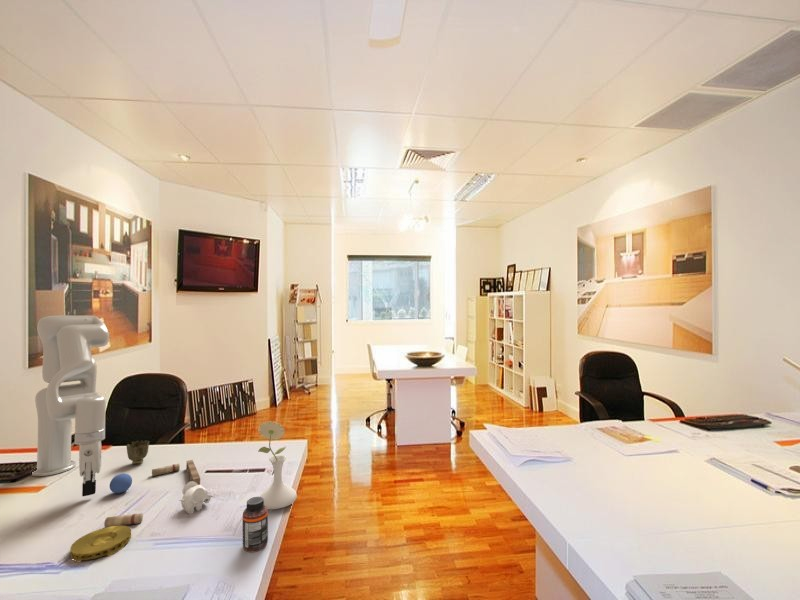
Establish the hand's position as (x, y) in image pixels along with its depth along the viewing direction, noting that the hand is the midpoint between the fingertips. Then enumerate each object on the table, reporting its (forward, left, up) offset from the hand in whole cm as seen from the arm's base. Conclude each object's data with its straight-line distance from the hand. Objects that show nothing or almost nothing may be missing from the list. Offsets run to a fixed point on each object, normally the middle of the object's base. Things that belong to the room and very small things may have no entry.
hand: (89, 494), depth 120 cm
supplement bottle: (+57, +36, -2) cm, 68 cm away
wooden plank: (+2, +29, -2) cm, 29 cm away
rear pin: (-8, +17, 0) cm, 19 cm away
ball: (+1, +8, +2) cm, 8 cm away
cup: (-26, +13, -2) cm, 29 cm away
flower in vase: (+39, +47, -2) cm, 61 cm away
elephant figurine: (+27, +27, -2) cm, 38 cm away
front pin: (+23, +6, 0) cm, 24 cm away
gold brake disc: (+34, +5, -2) cm, 34 cm away
